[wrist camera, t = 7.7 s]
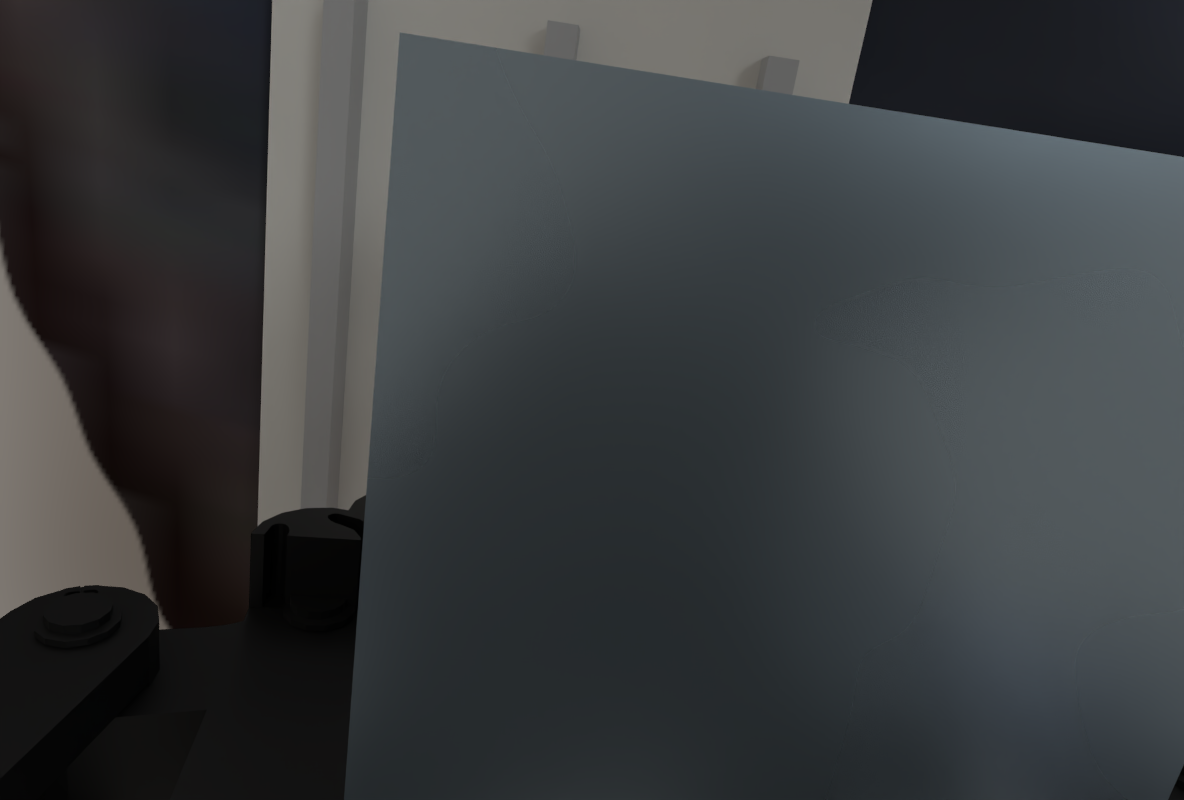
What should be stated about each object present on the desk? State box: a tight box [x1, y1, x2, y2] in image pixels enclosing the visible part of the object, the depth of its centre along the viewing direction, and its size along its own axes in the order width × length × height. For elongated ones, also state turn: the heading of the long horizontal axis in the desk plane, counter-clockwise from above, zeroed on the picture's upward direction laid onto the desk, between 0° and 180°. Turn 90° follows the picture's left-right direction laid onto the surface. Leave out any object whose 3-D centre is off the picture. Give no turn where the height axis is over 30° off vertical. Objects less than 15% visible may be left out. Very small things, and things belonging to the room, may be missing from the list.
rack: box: [258, 0, 873, 526], centre depth 23 cm, size 26×16×6 cm, turn 171°
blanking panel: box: [344, 33, 1184, 800], centre depth 10 cm, size 12×4×12 cm, turn 171°
